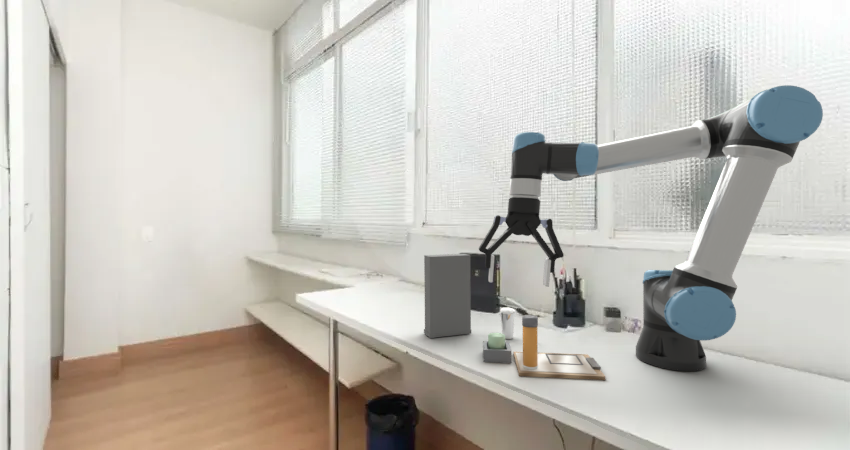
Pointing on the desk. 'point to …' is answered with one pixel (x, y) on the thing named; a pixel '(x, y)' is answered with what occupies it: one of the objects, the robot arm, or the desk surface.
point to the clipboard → (561, 366)
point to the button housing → (496, 353)
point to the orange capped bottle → (530, 342)
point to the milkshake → (507, 322)
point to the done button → (496, 341)
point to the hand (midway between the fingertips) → (518, 283)
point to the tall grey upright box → (447, 295)
